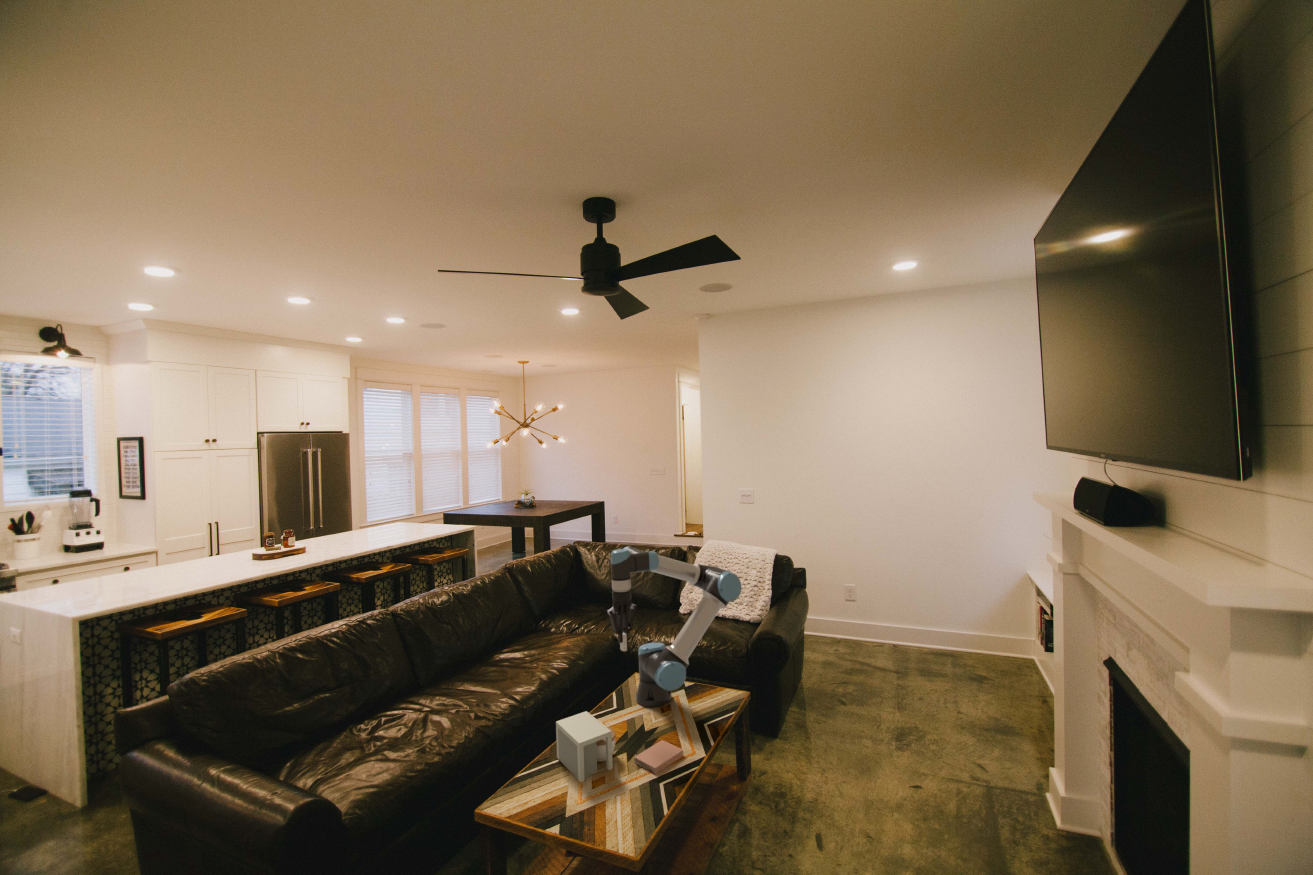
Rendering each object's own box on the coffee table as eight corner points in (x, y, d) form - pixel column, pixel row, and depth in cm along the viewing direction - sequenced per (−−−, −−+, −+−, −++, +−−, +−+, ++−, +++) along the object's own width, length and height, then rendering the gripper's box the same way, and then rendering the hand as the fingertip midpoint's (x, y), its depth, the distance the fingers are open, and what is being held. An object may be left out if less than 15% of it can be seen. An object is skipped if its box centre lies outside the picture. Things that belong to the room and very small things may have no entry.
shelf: (587, 745, 195) (586, 710, 196) (612, 768, 181) (611, 730, 181) (557, 757, 188) (555, 721, 189) (580, 782, 174) (579, 743, 174)
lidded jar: (601, 769, 181) (600, 740, 181) (578, 759, 187) (577, 731, 187) (622, 754, 189) (621, 727, 189) (599, 745, 196) (598, 718, 196)
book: (662, 746, 194) (662, 739, 194) (683, 756, 187) (683, 749, 187) (634, 764, 184) (634, 756, 184) (655, 775, 177) (655, 767, 177)
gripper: (630, 584, 219) (632, 643, 218) (602, 590, 211) (604, 651, 211) (640, 588, 213) (642, 648, 212) (611, 594, 205) (614, 656, 204)
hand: (623, 649), depth 211 cm, fingers closed
